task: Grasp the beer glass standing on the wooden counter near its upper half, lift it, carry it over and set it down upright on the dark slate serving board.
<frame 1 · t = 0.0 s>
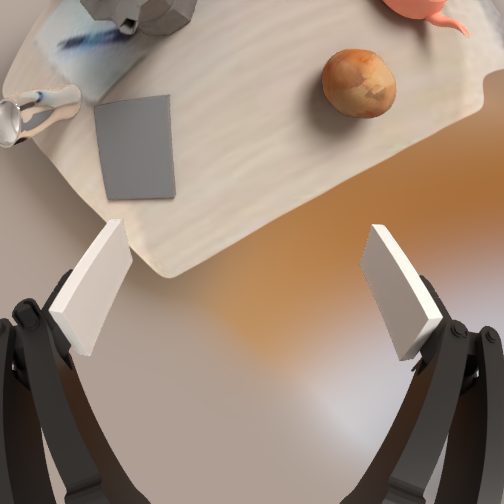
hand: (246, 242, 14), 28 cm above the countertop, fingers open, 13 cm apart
beer glass: (68, 101, 31), on the countertop
onion: (346, 81, 32), on the countertop
slate board: (135, 148, 37), on the countertop
coffeepot: (164, 4, 24), on the countertop
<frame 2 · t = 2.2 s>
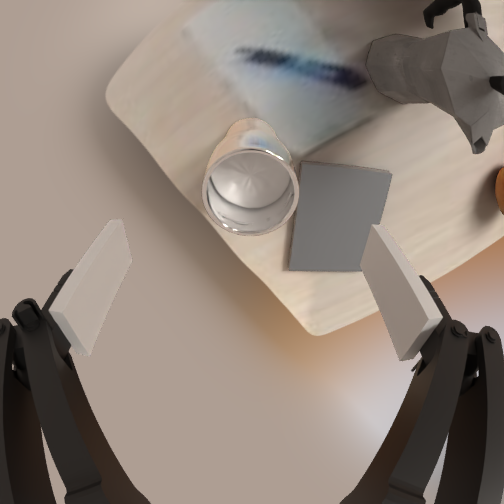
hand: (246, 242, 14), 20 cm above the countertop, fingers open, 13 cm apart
beer glass: (251, 142, 30), on the countertop
onion: (500, 179, 31), on the countertop
slate board: (337, 220, 36), on the countertop
coffeepot: (397, 60, 23), on the countertop
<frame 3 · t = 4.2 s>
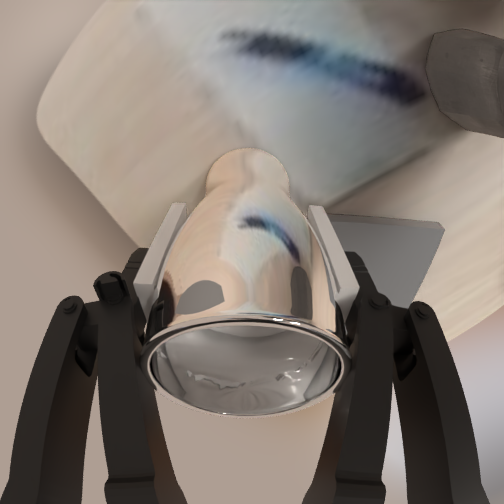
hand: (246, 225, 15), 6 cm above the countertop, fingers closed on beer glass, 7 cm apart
beer glass: (247, 186, 20), on the countertop, touching gripper
slate board: (365, 287, 26), on the countertop
coffeepot: (462, 66, 13), on the countertop
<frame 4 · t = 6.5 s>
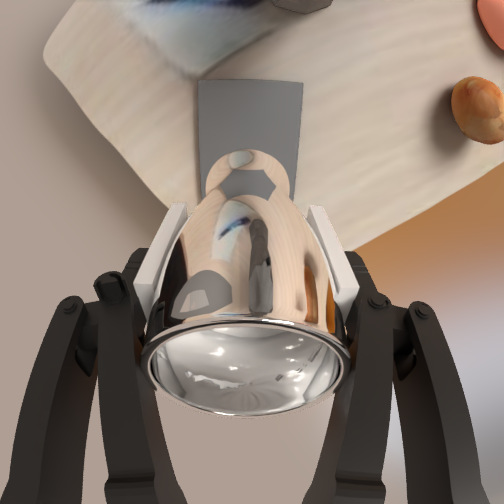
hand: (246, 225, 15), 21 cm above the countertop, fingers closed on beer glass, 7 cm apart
beer glass: (247, 186, 20), point 15 cm above the countertop, touching gripper
teapot: (497, 25, 16), on the countertop
onion: (460, 103, 27), on the countertop
slate board: (248, 141, 32), on the countertop
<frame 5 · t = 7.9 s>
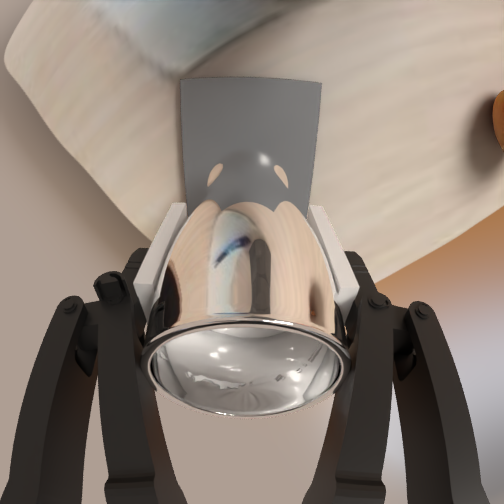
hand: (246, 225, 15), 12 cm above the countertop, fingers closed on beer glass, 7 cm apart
beer glass: (247, 186, 20), point 6 cm above the countertop, touching gripper
onion: (499, 115, 19), on the countertop
slate board: (248, 159, 25), on the countertop
when the fingers open (8 cm above the countertop, at t = 9.1 s): beer glass drops 1 cm, resting on slate board.
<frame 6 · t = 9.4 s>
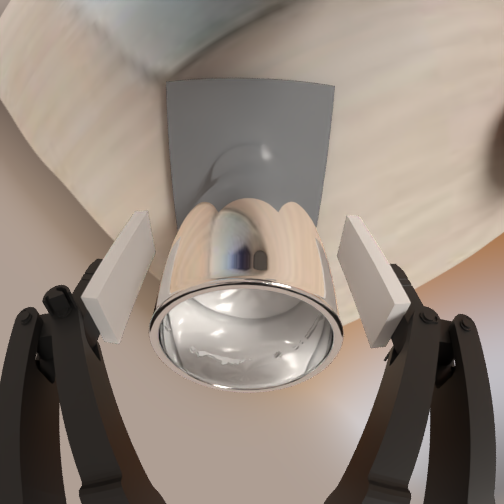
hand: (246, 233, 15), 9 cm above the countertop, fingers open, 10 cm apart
beer glass: (249, 180, 21), point 1 cm above the countertop, touching slate board
slate board: (247, 175, 22), on the countertop
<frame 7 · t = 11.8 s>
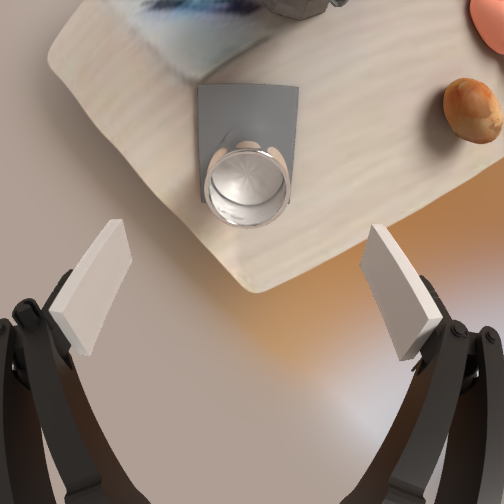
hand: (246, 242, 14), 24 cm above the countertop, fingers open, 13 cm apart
beer glass: (247, 145, 33), point 1 cm above the countertop, touching slate board
teapot: (490, 27, 18), on the countertop
onion: (453, 104, 28), on the countertop
slate board: (246, 143, 34), on the countertop
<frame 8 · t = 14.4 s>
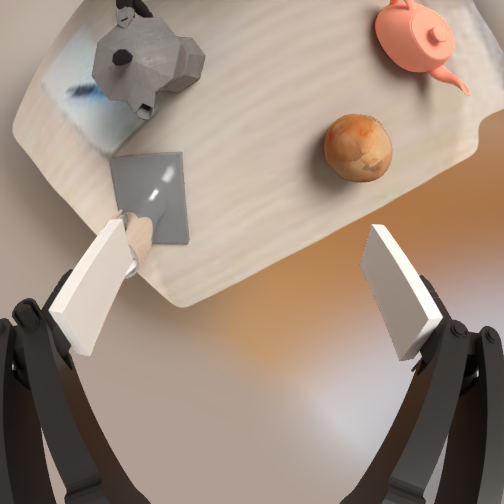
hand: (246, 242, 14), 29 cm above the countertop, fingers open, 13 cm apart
beer glass: (150, 202, 42), point 1 cm above the countertop, touching slate board
teapot: (408, 41, 27), on the countertop
onion: (347, 139, 38), on the countertop
slate board: (151, 199, 43), on the countertop
coffeepot: (173, 57, 30), on the countertop
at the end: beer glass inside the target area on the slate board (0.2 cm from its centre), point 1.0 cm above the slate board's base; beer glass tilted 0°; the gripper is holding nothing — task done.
